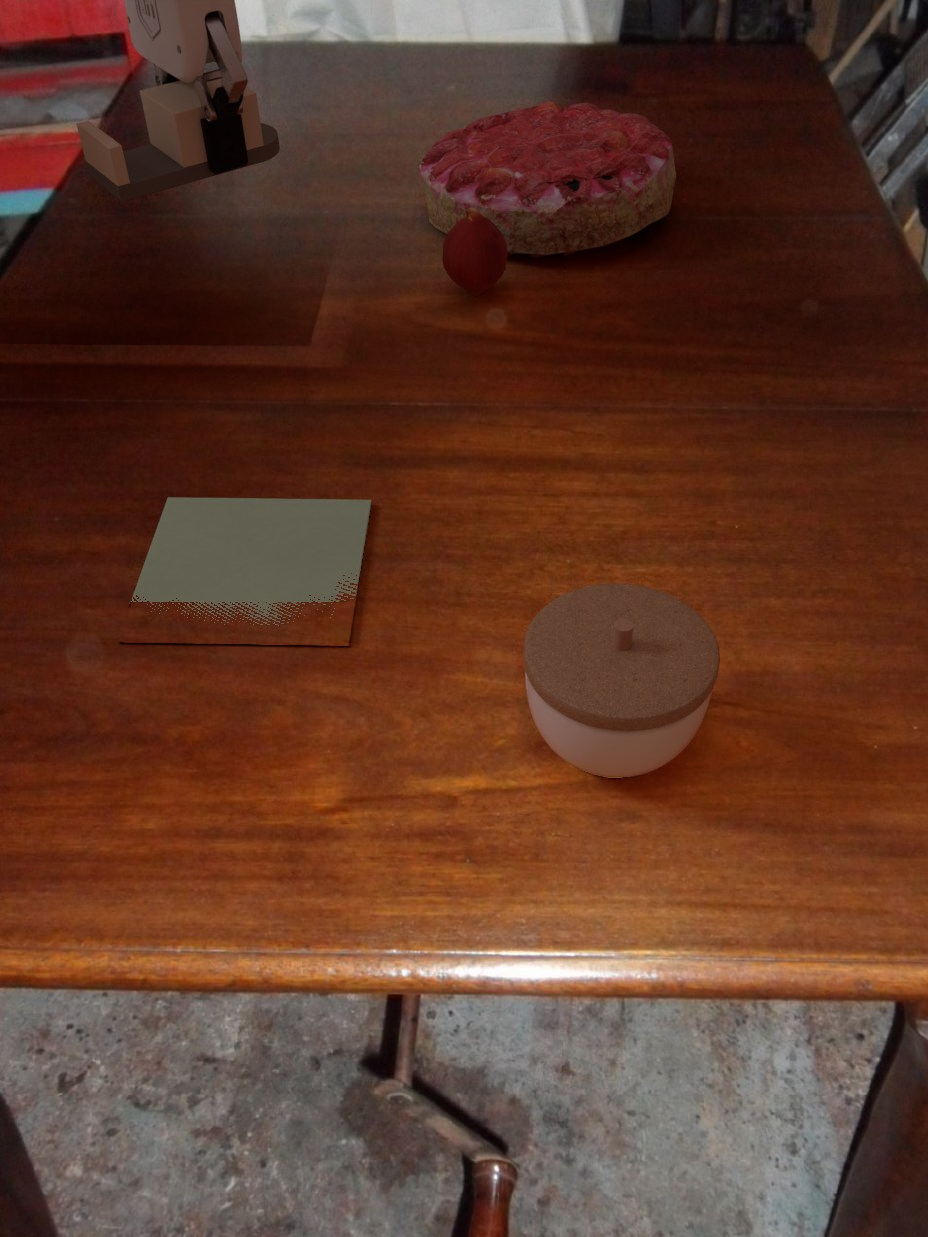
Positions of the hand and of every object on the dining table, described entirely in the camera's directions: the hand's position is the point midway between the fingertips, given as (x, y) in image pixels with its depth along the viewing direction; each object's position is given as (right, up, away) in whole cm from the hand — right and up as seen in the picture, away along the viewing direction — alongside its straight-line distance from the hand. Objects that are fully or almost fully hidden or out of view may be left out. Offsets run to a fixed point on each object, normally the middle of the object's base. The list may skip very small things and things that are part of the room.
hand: (208, 152), depth 92 cm
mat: (+6, -35, -13) cm, 38 cm away
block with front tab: (-1, -1, 0) cm, 2 cm away
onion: (+21, -7, +14) cm, 26 cm away
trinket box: (+30, -46, -24) cm, 60 cm away
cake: (+29, +6, +25) cm, 39 cm away
